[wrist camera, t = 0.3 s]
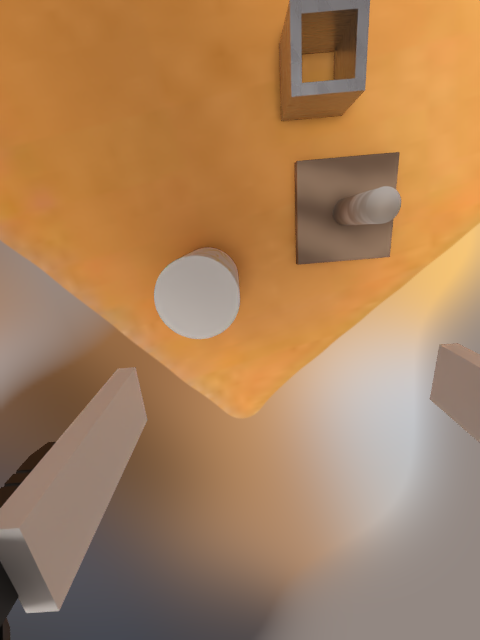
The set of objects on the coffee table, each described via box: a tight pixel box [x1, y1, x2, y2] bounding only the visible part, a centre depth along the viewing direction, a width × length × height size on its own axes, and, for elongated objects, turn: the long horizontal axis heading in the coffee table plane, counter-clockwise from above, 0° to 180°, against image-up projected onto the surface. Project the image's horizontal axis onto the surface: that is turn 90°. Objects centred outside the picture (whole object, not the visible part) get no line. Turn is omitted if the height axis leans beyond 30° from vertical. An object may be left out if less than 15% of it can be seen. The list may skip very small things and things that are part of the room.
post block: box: [295, 152, 401, 264], centre depth 30 cm, size 12×12×10 cm
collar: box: [279, 0, 370, 121], centre depth 27 cm, size 7×7×6 cm
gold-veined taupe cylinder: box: [154, 247, 240, 339], centre depth 31 cm, size 8×8×12 cm
